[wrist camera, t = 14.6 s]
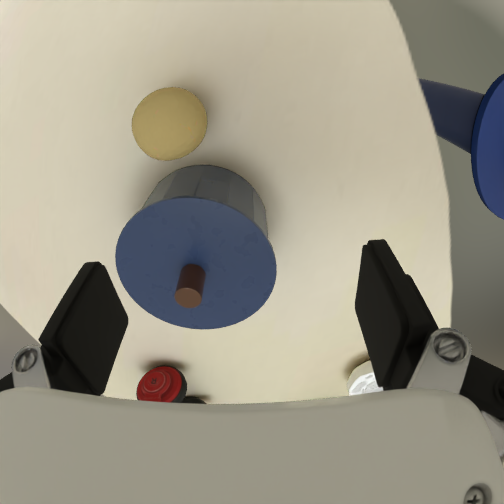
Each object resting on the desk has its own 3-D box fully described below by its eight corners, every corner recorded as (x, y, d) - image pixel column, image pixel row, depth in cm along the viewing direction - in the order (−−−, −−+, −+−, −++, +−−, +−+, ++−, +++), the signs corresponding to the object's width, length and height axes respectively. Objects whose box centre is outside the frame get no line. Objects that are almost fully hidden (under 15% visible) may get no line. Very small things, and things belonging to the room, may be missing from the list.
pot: (259, 157, 33) (263, 191, 25) (270, 265, 41) (275, 317, 33) (133, 175, 34) (101, 213, 26) (163, 275, 42) (147, 325, 34)
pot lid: (268, 181, 25) (272, 205, 22) (280, 316, 34) (283, 348, 30) (98, 206, 26) (77, 231, 22) (146, 325, 35) (137, 354, 31)
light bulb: (172, 149, 32) (146, 183, 24) (145, 100, 29) (107, 117, 21) (225, 124, 31) (216, 148, 22) (198, 72, 27) (177, 75, 19)
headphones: (216, 401, 62) (212, 486, 45) (175, 404, 63) (165, 484, 47) (183, 356, 52) (168, 460, 36) (136, 361, 53) (113, 456, 37)
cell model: (384, 341, 51) (395, 371, 46) (397, 368, 57) (406, 395, 51) (335, 364, 54) (341, 394, 49) (354, 387, 60) (360, 414, 54)
